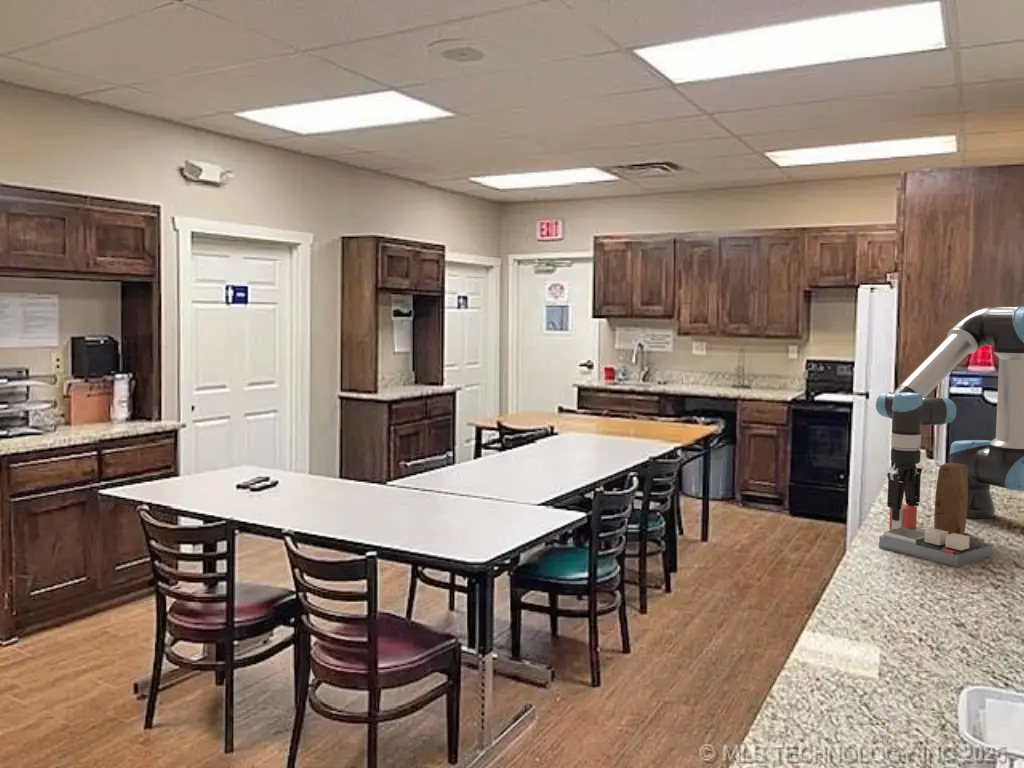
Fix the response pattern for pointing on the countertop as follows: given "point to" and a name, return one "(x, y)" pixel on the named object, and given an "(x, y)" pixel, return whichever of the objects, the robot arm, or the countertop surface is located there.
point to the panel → (932, 547)
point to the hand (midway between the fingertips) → (902, 529)
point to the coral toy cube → (907, 516)
